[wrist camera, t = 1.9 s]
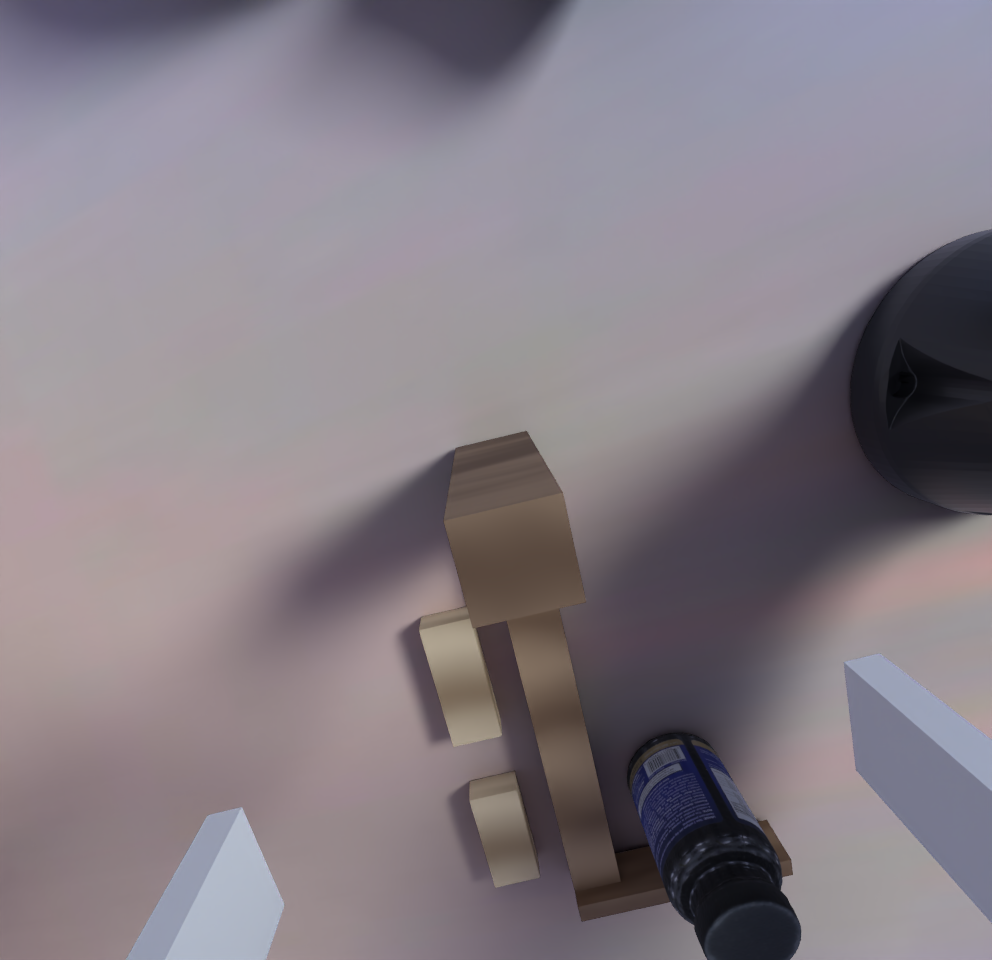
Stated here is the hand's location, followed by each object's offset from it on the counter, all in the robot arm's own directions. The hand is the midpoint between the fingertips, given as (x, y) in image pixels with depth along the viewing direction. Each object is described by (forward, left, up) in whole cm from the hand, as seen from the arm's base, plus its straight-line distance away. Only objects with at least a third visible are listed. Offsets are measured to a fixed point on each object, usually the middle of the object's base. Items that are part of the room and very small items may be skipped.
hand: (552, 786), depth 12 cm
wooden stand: (+2, +12, -21) cm, 24 cm away
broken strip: (+13, +10, -21) cm, 27 cm away
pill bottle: (+6, +20, -21) cm, 30 cm away
